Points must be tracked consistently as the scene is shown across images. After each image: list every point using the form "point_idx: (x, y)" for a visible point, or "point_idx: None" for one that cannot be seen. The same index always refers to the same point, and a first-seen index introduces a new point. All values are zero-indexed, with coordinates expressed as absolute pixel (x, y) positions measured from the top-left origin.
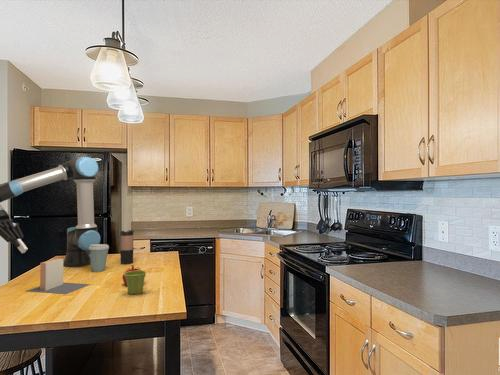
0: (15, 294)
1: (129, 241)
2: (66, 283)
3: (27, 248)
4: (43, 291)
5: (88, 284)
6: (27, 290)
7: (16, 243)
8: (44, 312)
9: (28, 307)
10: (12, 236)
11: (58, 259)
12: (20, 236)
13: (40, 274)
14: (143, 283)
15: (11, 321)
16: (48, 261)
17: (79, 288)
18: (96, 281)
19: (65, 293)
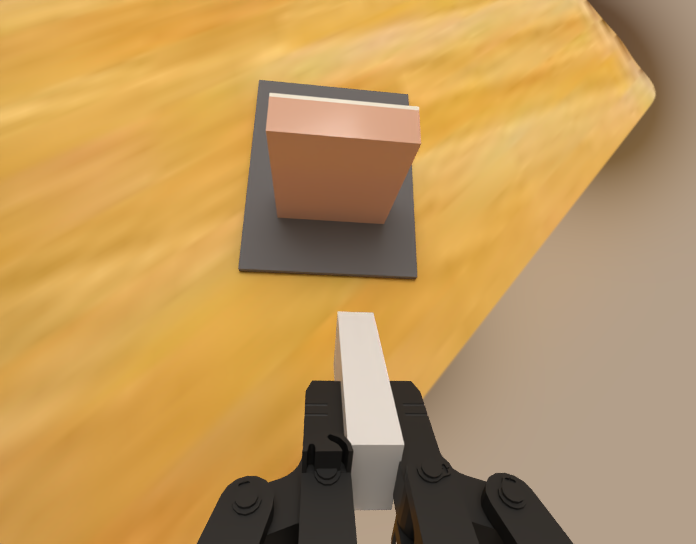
0: (447, 297)
1: None
2: (261, 184)
3: (339, 315)
4: (399, 195)
5: (264, 87)
6: (404, 273)
7: (424, 410)
8: (554, 65)
9: (542, 133)
10: (471, 526)
11: (294, 109)
12: (266, 535)
13: (401, 185)
14: None
15: (634, 99)
16: (369, 127)
17: (328, 90)
18: (187, 97)
19: (400, 101)
